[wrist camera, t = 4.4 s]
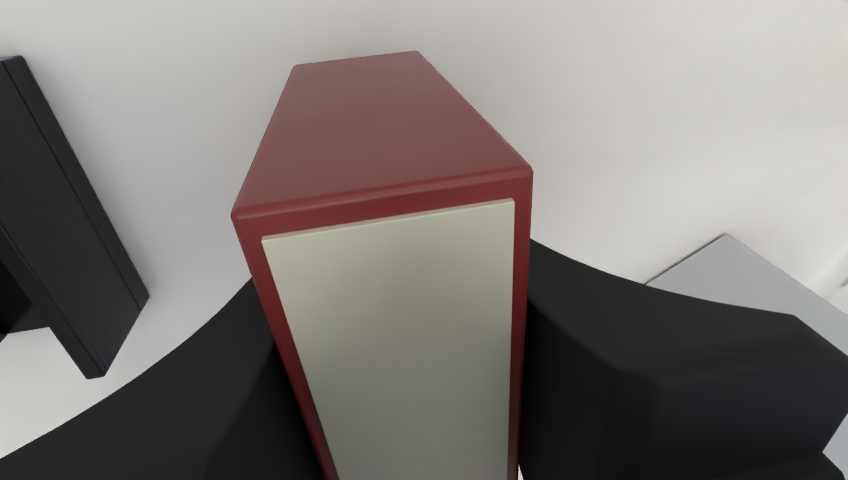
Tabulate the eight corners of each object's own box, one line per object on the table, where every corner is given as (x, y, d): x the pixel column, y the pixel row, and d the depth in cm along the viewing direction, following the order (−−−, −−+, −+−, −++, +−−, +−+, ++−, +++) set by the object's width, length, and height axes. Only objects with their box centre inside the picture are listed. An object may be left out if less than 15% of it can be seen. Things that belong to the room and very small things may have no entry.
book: (439, 305, 15) (517, 556, 9) (350, 321, 15) (361, 593, 8) (418, 49, 11) (540, 170, 4) (291, 64, 10) (222, 216, 4)
